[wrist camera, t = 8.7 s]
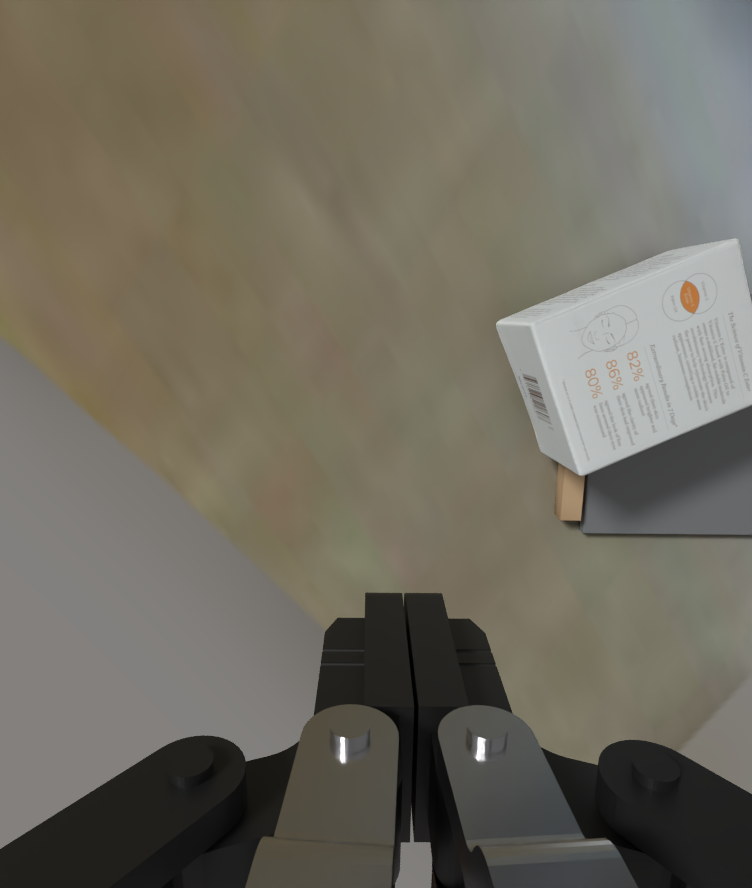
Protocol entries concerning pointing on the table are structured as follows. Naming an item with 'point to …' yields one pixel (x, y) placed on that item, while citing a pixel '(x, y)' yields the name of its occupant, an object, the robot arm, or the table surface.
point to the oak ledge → (569, 494)
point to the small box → (635, 355)
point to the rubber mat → (678, 485)
